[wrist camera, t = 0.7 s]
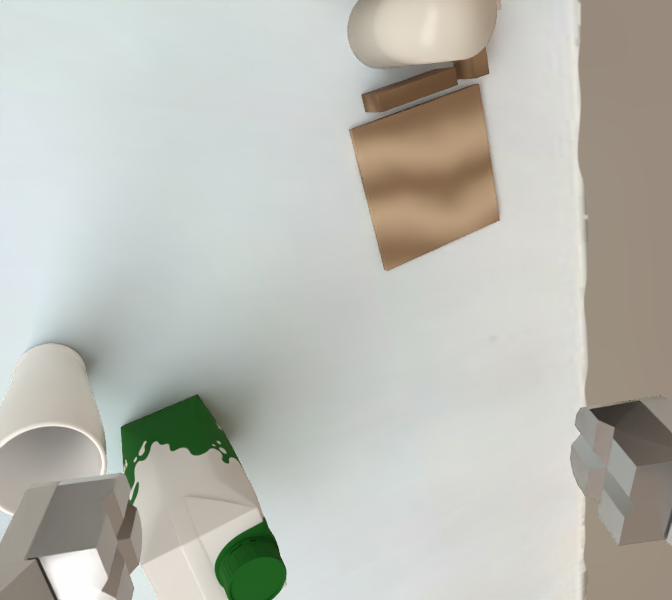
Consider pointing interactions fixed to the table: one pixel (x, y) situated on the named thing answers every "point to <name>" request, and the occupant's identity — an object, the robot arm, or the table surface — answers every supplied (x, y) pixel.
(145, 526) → the milk carton
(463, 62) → the holder
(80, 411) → the drinking glass
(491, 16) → the white cylinder
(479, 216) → the square wooden board
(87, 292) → the table surface
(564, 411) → the table surface
